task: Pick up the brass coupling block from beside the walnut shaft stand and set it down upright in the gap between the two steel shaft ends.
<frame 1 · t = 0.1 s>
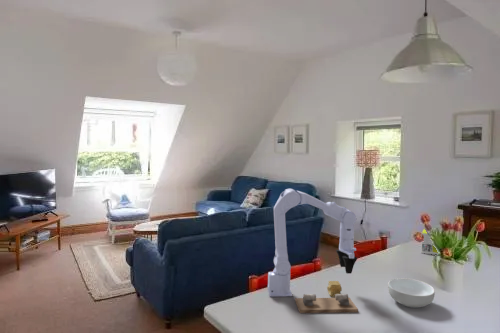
hand: (345, 269, 150), 10 cm above the table, tool pointing down, fingers open, 7 cm apart
cereal bowl: (410, 303, 141), on the table
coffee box: (433, 252, 208), on the table
shaft stand: (325, 306, 137), on the table
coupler: (334, 294, 149), on the table
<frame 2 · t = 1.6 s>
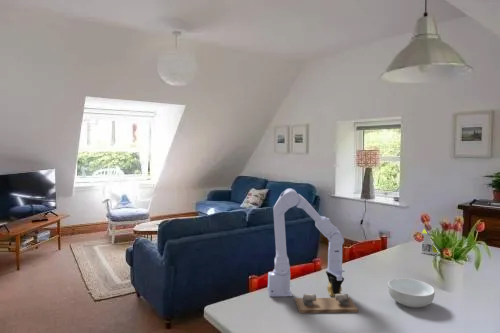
hand: (334, 291, 148), 1 cm above the table, tool pointing down, fingers closed on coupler, 4 cm apart
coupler: (334, 294, 149), on the table, touching gripper
everything else where it was.
when the fingers open (4 cm above the table, at t = 5.3 s): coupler drops 1 cm, resting on shaft stand.
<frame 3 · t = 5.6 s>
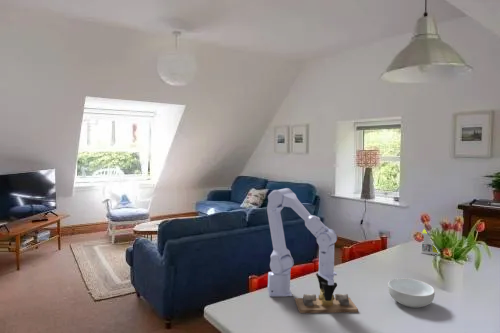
hand: (325, 296, 137), 4 cm above the table, tool pointing down, fingers open, 7 cm apart
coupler: (326, 303, 137), point 1 cm above the table, touching shaft stand
everything else where it was.
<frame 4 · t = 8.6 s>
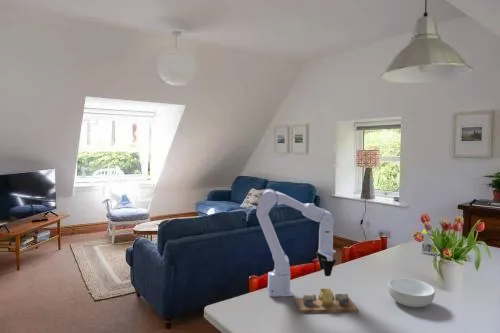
hand: (325, 272, 148), 9 cm above the table, tool pointing down, fingers open, 7 cm apart
nothing on the table moved.
at the end: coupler 0.2 cm from the shaft stand (horizontally); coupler tilted 0°; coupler point 1.2 cm above the table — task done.
